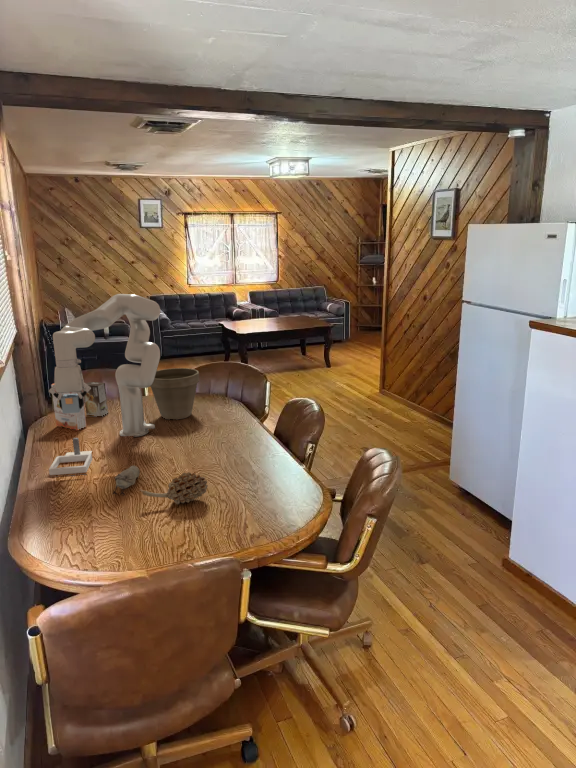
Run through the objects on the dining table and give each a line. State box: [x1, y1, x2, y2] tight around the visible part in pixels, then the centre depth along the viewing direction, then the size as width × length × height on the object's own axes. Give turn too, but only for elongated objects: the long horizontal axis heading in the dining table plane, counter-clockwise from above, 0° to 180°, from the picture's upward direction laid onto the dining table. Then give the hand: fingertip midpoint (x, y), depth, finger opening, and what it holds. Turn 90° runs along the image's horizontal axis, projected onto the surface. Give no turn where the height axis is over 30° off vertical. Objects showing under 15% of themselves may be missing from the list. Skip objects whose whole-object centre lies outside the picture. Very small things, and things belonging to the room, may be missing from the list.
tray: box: [48, 453, 93, 477], centre depth 214 cm, size 13×13×4 cm
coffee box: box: [82, 381, 109, 417], centre depth 280 cm, size 9×6×16 cm
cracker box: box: [50, 382, 87, 431], centre depth 261 cm, size 14×6×21 cm, turn 62°
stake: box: [64, 437, 93, 456], centre depth 224 cm, size 10×9×8 cm
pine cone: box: [139, 471, 209, 505], centre depth 184 cm, size 22×10×10 cm, turn 108°
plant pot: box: [150, 367, 200, 420], centre depth 276 cm, size 25×25×22 cm
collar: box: [61, 394, 82, 414], centre depth 219 cm, size 6×7×6 cm
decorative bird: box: [111, 465, 141, 496], centre depth 197 cm, size 5×16×7 cm, turn 172°
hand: (72, 407), depth 220 cm, fingers closed on collar, 6 cm apart
